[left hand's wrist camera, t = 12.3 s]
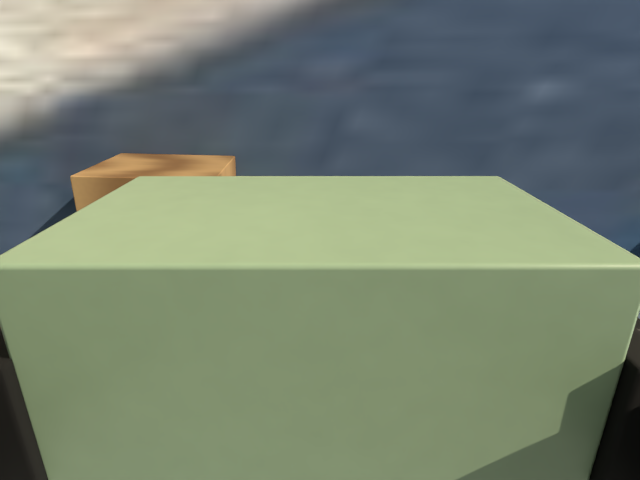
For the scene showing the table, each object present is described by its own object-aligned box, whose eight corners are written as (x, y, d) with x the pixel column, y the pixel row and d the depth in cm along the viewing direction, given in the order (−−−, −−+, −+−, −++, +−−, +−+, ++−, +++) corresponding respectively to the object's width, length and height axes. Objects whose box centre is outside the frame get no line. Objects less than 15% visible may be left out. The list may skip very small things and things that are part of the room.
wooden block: (234, 155, 31) (214, 179, 24) (247, 436, 40) (235, 507, 34) (120, 153, 31) (69, 176, 24) (159, 436, 40) (130, 507, 34)
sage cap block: (499, 175, 12) (656, 264, 6) (472, 357, 14) (572, 543, 9) (137, 175, 12) (-23, 265, 6) (164, 357, 14) (63, 543, 9)
